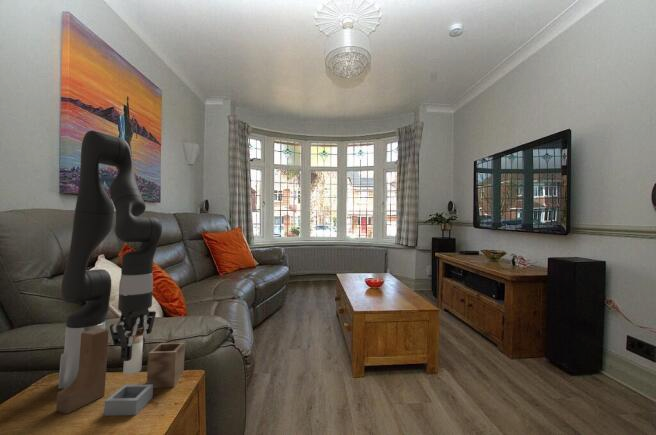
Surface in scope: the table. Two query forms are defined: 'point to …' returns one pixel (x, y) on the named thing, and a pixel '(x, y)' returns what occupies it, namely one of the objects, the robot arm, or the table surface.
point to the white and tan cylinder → (134, 356)
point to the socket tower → (165, 364)
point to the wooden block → (87, 372)
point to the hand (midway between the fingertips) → (132, 356)
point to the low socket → (128, 400)
